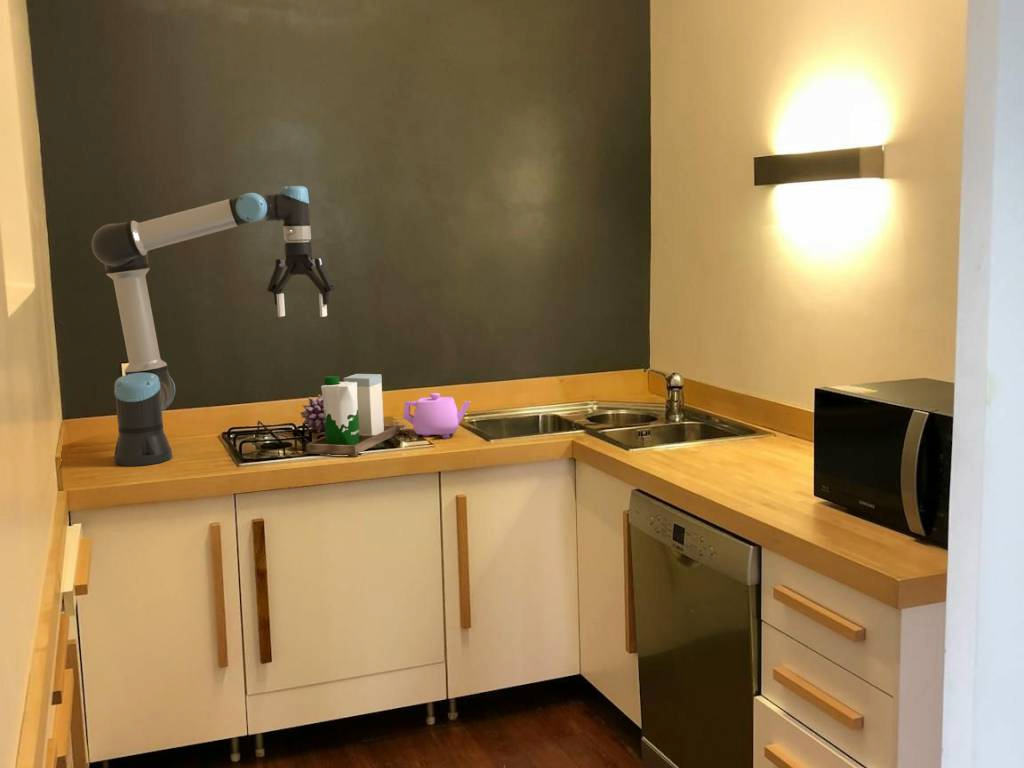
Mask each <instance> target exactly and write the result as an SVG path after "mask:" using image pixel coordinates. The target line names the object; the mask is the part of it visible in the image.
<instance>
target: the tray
mask: <svg viewBox="0 0 1024 768" xmlns="http://www.w3.org/2000/svg"><path fill="white" fill-rule="evenodd" d="M398 432H400V433H401V426H400V424H399V425H395V424H392V425H391V424H384V431H383V432H381V433H379V434H377V435H363V434H359V443H358V444H356V445H331V444H326V436H325V435H324V436H322V437H320V438H317V439H315V440H312V441H310V442H308V443H306V444H305V449H306V450H305V452H306V455H307V454H330V455H348V456H352V457H351V458H357V457H359V456H361V455H363V453H362V452H363V451H366V450H368V449H370V448H372V447H374V446H376V445H378V444H380V443H383V442H385V441H386V440H387V441H388V439H391V438H392V437H395V436H396V435H395V434H397V433H398ZM394 435H395V436H394ZM397 435H398V434H397ZM360 454H361V455H360ZM358 455H359V456H358Z"/></svg>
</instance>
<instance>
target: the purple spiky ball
mask: <svg viewBox="0 0 1024 768" xmlns="http://www.w3.org/2000/svg"><path fill="white" fill-rule="evenodd" d="M308 401H309V404H308V405H307V404H302V407H303V408H304V409H305V410H304V411H300V416H301V418H304V420H303V422H302V423H301V424H302V425H307V426H306V427H307V428H308V429H309V428H310V430H311V431H310V432H311V433H312V432H313V431H314V430H315V429H316V431H317V434H320V433H321V432H324V430H325V420H324V403H323V395H321V394H317V398H316V399H314V398H312V397H311V396H309V397H308ZM311 428H315V429H311Z"/></svg>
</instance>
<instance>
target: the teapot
mask: <svg viewBox="0 0 1024 768" xmlns="http://www.w3.org/2000/svg"><path fill="white" fill-rule="evenodd" d="M429 396H430V397H428V396H427V397H420V398H419V399H418V400H414V401H413V400H412V401H411V400H407V401H406V400H405V402H404V405H403V415H402V419H404V420H406V421H407V422H408V423H410V424H412V426H413V430H414V433H415V434H416V435H421V436H422V437H430V436H431V435H440V436H441V438H442V439H444V440H447V439H451V438H452V436H451V435H453V434H455V433H456V432H457V431H458V428H459V425H460V423H461V421H462V419H463V418H464V416H465V414H466V412H467V410H468V408H469V406H470V405H471V401H468V400H465V401H464V403H463V404H462V406H461V408H460V409H459V410H458V407H457V405H456V401H455V399H454V397H453V396H441V393H439V392H434V393H429ZM411 407H415V409H414V414H413V415H412V414H411Z"/></svg>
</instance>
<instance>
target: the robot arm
mask: <svg viewBox="0 0 1024 768" xmlns="http://www.w3.org/2000/svg"><path fill="white" fill-rule="evenodd" d="M308 190H309V189H308V187H306V186H303V185H291V186H289V185H287V186H282V187H280V193H273V194H272V193H263V194H259V193H256V192H247V193H243V194H242V195H238V196H235V197H233V198H228V199H224V200H221V201H217V202H213V203H208V204H206V205H201V206H197V207H195V208H191V209H187V210H183V211H179V212H175V213H172V214H168V215H163V216H161V217H156V218H152V219H147V220H145V221H142V222H138V221H136V220H130V221H126V222H120V223H108V224H105V225H103V226H101V227H100V228H98V229H97V230H96V231H95V233H94V234H93V236H92V240H91V250H92V253H93V254H94V256H95V258H96V259H97V261H99V262H100V263H102V264H104V269H105V274H106V276H108V277H109V278H111V280H112V281H113V285H114V290H115V296H116V301H117V307H118V311H119V317H120V322H121V327H122V328H121V329H122V334H123V338H124V343H125V349H126V355H127V359H128V365H127V367H125V369H124V373H125V375H122V376H120V377H118V378H117V379H116V380H115V382H114V390H113V393H114V397H115V405H116V406H115V407H116V418H117V429H118V435H117V436H118V437H117V442H116V445H115V451H114V453H113V462H114V464H115V465H118V466H125V467H126V466H127V467H134V466H135V467H137V466H138V467H139V466H147V465H155V464H159V463H163V462H166V461H169V460H171V459H172V458H173V450H172V447H171V445H170V443H169V441H168V439H167V436H166V433H165V430H164V421H163V411H165V410H166V409H167V408H169V407H170V405H171V404H172V403H173V400H174V398H175V395H176V384H175V381H174V380H173V378H172V377H171V376H170V373H169V367H168V364H167V362H166V361H164V360H162V359H161V354H160V349H159V344H158V338H157V331H156V327H155V322H154V321H155V320H154V316H153V311H152V306H151V299H150V295H149V289H148V282H147V278H146V275H147V274H148V272H149V271H150V269H151V268H150V263H149V262H150V261H149V259H148V258H149V256H148V255H149V251H152V250H155V249H159V248H162V247H166V246H169V245H173V244H177V243H181V242H184V241H188V240H192V239H195V238H199V237H203V236H207V235H210V234H215V233H218V232H221V231H225V230H228V229H232V228H236V227H239V226H244V225H249V224H253V223H256V222H257V223H258V222H279V221H280V222H282V225H283V227H282V228H283V239H284V242H285V241H286V242H285V243H284V255H285V259H283V258H278V259H276V260H275V267H274V270H273V274H272V275H271V278H270V281H269V284H268V286H267V291H268V293H269V292H270V293H272V294H273V296H274V298H273V299H274V305H275V306H277V317H278V318H282V317H285V316H286V309H285V308H286V307H285V295H284V293H282V292H283V290H284V288H285V287H286V285H287V284H288V282H289V281H290V280H291V278H292V276H296V275H300V276H301V275H303V276H304V275H306V276H307V277H308V278H309V279H310V281H311V282H312V283H313V284H314V285H315V286H316V287H317V289H318V290H319V291H320V293H318V301H319V317H320V318H322V317H323V318H324V317H327V316H328V309H327V308H328V307H327V305H329V303H330V300H329V298H330V296H329V293H330V292H333V291H335V286H334V284H333V281H332V280H331V278H330V276H329V274H328V271H327V270H326V268H325V267H324V260H323V258H321V257H320V258H319V257H318V258H315V259H313V246H312V245H313V243H312V242H311V240H312V232H311V231H312V229H311V214H310V211H311V210H310V200H309V199H310V198H309V191H308ZM285 266H286V267H287V268H286V270H285V272H284V274H283V275H282V273H283V270H284V267H285ZM313 266H314V267H315V269H316V271H317V273H318V274H317V273H316V271H315V270H314V269H313ZM318 275H319V276H318ZM281 276H282V277H281ZM320 278H321V279H320Z"/></svg>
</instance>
